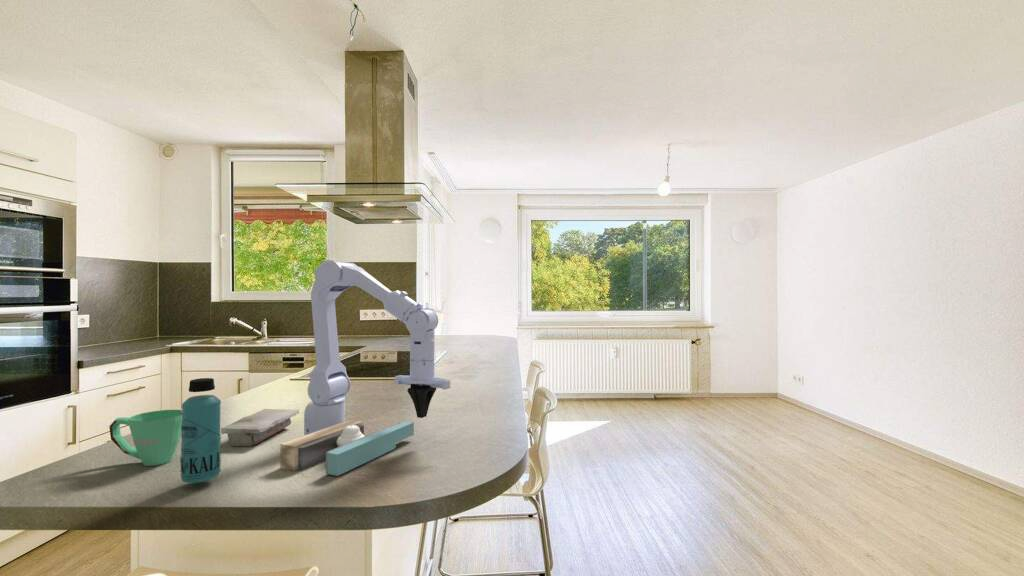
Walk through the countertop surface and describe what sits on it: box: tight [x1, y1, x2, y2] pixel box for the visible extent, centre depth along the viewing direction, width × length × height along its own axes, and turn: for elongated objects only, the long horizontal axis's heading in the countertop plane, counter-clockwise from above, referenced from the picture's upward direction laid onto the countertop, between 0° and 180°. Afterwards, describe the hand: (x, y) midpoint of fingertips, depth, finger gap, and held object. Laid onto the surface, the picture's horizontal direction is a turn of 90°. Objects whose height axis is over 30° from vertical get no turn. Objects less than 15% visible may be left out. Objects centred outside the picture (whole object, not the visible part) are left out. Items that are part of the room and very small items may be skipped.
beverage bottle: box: [179, 377, 222, 484], centre depth 91 cm, size 6×7×20 cm
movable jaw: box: [325, 420, 415, 477], centre depth 106 cm, size 3×25×4 cm, turn 156°
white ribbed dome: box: [337, 425, 366, 447], centre depth 106 cm, size 6×6×7 cm
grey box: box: [220, 408, 300, 447], centre depth 121 cm, size 18×5×10 cm
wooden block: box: [279, 419, 365, 472], centre depth 107 cm, size 5×20×5 cm, turn 156°
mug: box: [108, 409, 182, 467], centre depth 103 cm, size 15×10×10 cm
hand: (421, 416), depth 114 cm, fingers closed
